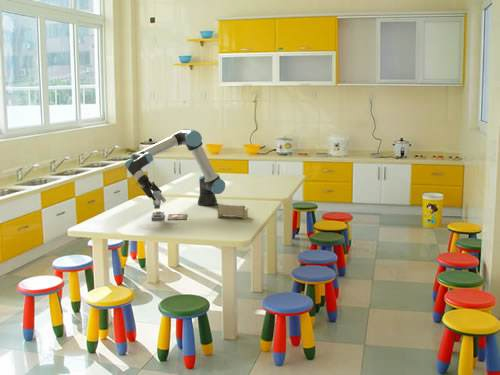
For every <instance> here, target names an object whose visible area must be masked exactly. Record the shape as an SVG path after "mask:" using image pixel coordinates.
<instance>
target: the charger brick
mask: <svg viewBox="0 0 500 375" xmlns="http://www.w3.org/2000/svg"><path fill="white" fill-rule="evenodd" d="M152 194H153V195H155V197H156V198H157V199H158V200H159V201H160V203H159V204H158V205H157V204H156V203H155V201H154V200H153V199H152V202H153V203H152V204H153V206H154V207H153V208H154V209H155V210H156V209H157V210H159V209H161V208H160V207H161V204H162V203H161V202H162V200H161V197H160V191H153V190H152Z"/></svg>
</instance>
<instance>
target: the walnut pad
mask: <svg viewBox="0 0 500 375" xmlns="http://www.w3.org/2000/svg"><path fill="white" fill-rule="evenodd" d="M187 216H188V213H174V214H172V213H171V214H168V215H167V219H166V220H167V221H187Z"/></svg>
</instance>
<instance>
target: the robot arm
mask: <svg viewBox="0 0 500 375" xmlns="http://www.w3.org/2000/svg"><path fill="white" fill-rule="evenodd" d="M202 140H203V137H202V135H201V133H200V132H199V131H198V130H195V129H188V128H185V129H181V130H178V131H176V132H174V133H172V134H170V136H169V137H167V138H165V139H163V140H161V141H159V142H157V143H155V144H152V145H151V146H148V147H146V148H144V149H143V150H140V151H138V152H137V151H136V152H132V154H131V155H130V158H129V159H127V161H125V163H124V167H125V169H127V171H128V172H129V173H130V174H131V175H132V177H134V179H135V180H136V181H137V183H138V185H140V189H141V190H142V191H143V192H144V194H145V195H146V196H147V198H149V199H152V201H153V200H154V201H155V203H156V204H157V205H158V204H159V203H160V201H159V200H158V199H157V198H156V197H155V195H153V191H160V197H161V202H162V203H163V204H164V203H165V202H166V201H167V199H166V198H165V197H164V195H163V194H162V192H163V191H162V190H161V189H160V188H159V187H158V186H157V185H156V184H155V182H154V181H150V180H149V179H150V177H148V175H147V174H146V173H145V171H144V170H143V168H144V167H145V166H147V165H149V164H151V163H152V162H153V161H154V157H155V156H157V155H159V154H161V153H163V152H166V151H167V150H169V149H172V148H174V147H178V146H183V145H185V146H186V149H187V150H188V151H189V152H191V153H192V155H193V157H194V159H195V161H196V163H197V165H198V166H199V169H200V171H201V173H202V175H200V176H199V196H198V199H197V205H198V206H201V207H204V206H205V207H211V206H216V205H218V200H217V196H216V195H221V194H222V193H223V192H224V191H225V188H226V181H224V180H223V179H221V177H220V175H219V174H218V173H217V172H216V171H215V169H214V168H213V166H212V164H211V162H210V160H209V157H208V155H207V154H206V152H205V150H204V148H203V141H202Z"/></svg>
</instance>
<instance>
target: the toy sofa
mask: <svg viewBox="0 0 500 375" xmlns="http://www.w3.org/2000/svg"><path fill="white" fill-rule="evenodd" d="M217 207H218V208H217V209H216V211H217V218H218V219H220V218H221V217H223V216H236V217H237V216H239V217H241V219H243V220H244V219H245V220H246V219H248V216H249V214H248V213H249V212H248V211H249V207H246V206H245V205H228V204H217Z"/></svg>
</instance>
